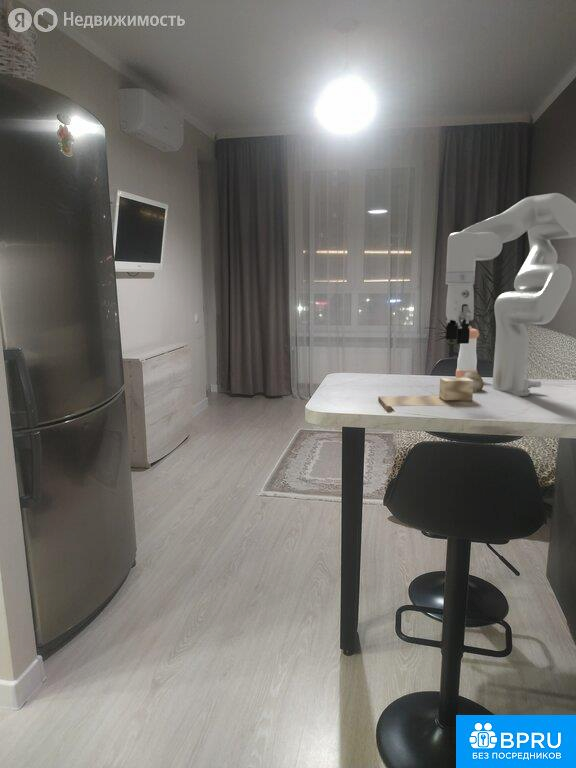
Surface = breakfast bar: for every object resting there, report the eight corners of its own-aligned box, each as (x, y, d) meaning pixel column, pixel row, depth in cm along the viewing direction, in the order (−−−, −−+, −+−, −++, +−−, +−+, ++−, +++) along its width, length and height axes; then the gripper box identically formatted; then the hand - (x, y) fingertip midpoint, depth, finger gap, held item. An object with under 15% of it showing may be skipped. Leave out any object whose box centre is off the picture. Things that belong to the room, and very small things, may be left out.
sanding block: (466, 398, 149) (467, 377, 148) (472, 401, 145) (473, 380, 144) (439, 398, 149) (440, 378, 148) (444, 402, 145) (445, 381, 143)
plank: (464, 400, 153) (465, 395, 153) (480, 410, 141) (480, 404, 141) (378, 401, 153) (378, 396, 152) (386, 411, 141) (386, 406, 141)
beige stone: (443, 395, 161) (451, 366, 163) (466, 406, 164) (473, 377, 166) (460, 394, 154) (468, 363, 156) (484, 405, 158) (491, 375, 160)
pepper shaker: (470, 382, 180) (473, 327, 176) (451, 379, 185) (454, 326, 181) (480, 379, 185) (484, 326, 181) (462, 376, 190) (465, 324, 186)
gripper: (485, 278, 132) (481, 344, 135) (463, 278, 149) (459, 337, 152) (456, 279, 132) (453, 345, 135) (437, 279, 149) (434, 338, 152)
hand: (456, 341), depth 144 cm, fingers open, 9 cm apart
